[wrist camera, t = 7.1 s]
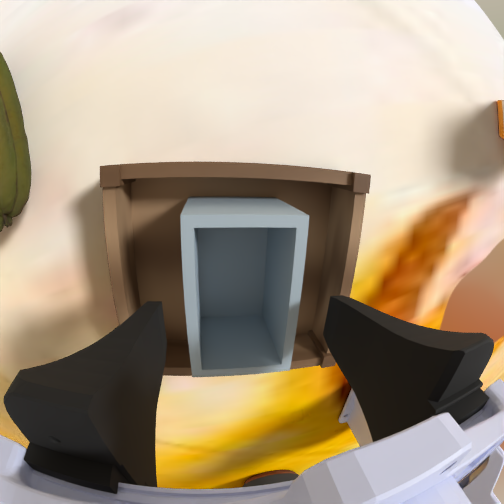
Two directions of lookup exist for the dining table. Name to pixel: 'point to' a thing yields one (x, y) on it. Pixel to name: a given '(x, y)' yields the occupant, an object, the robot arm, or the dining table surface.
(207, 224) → the grey crate
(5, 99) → the fruit
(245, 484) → the mug
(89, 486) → the robot arm
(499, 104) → the supplement box
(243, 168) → the walnut crate
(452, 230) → the dining table surface
